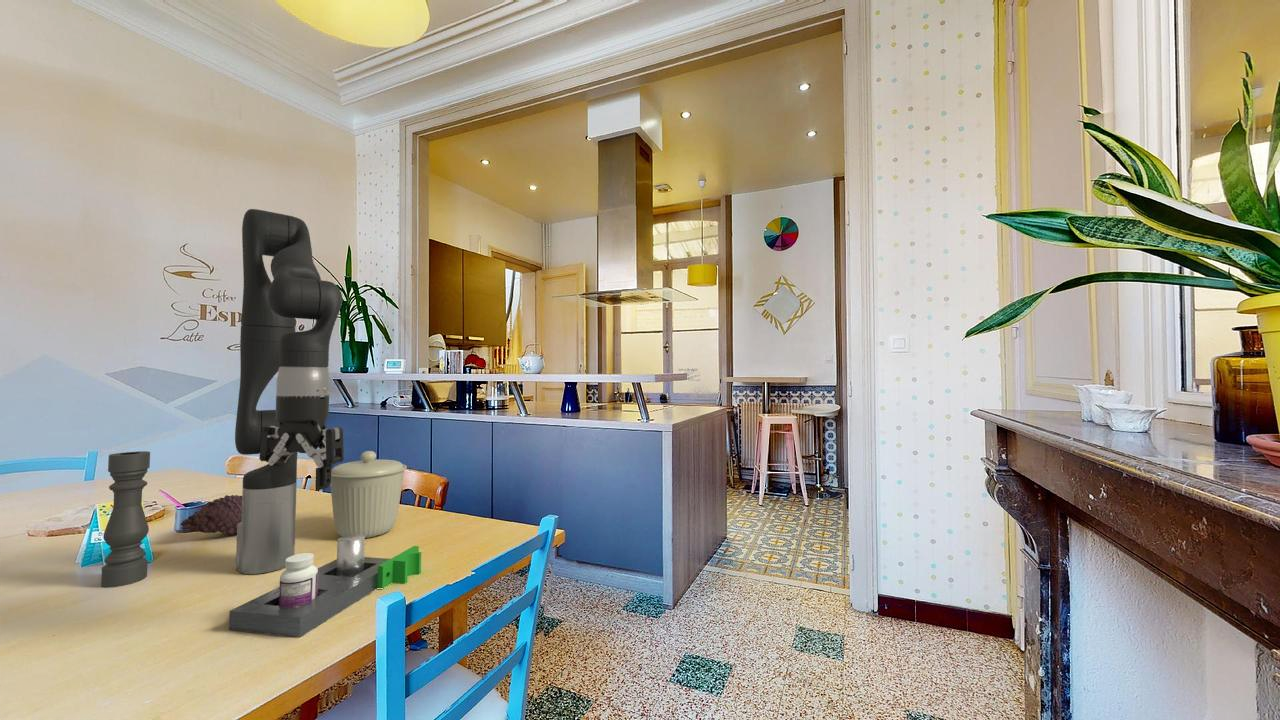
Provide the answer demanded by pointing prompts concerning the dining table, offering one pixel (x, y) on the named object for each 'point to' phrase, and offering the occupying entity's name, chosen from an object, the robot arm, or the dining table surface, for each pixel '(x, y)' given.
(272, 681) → the dining table surface
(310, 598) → the pill bottle
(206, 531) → the pine cone
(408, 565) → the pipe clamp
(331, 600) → the hole plate
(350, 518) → the canister
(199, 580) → the dining table surface
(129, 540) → the candle holder
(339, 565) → the clear glass cylinder
